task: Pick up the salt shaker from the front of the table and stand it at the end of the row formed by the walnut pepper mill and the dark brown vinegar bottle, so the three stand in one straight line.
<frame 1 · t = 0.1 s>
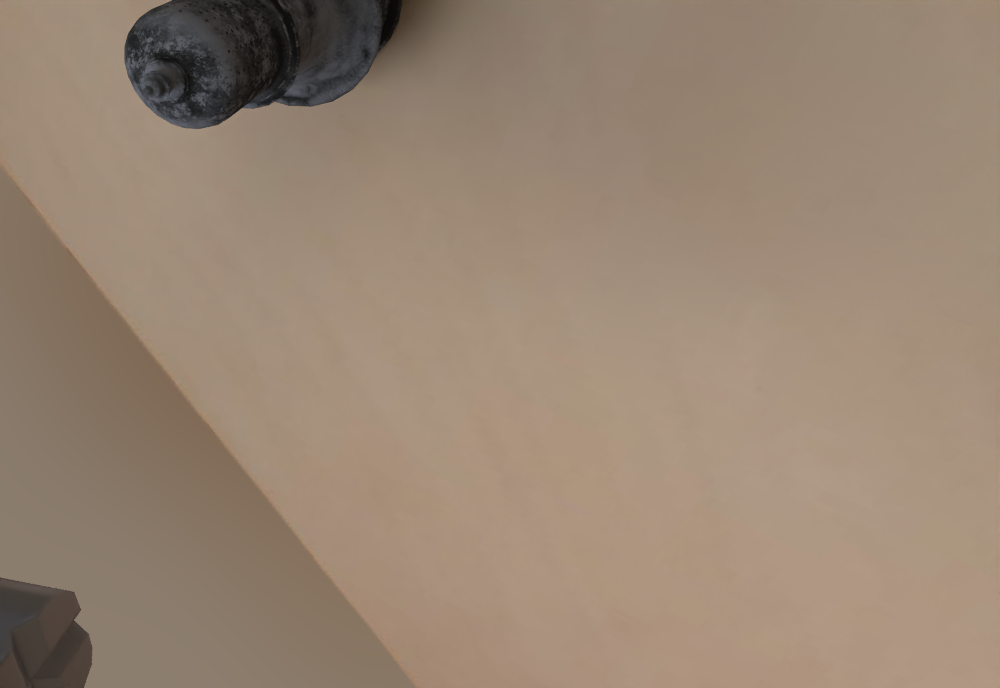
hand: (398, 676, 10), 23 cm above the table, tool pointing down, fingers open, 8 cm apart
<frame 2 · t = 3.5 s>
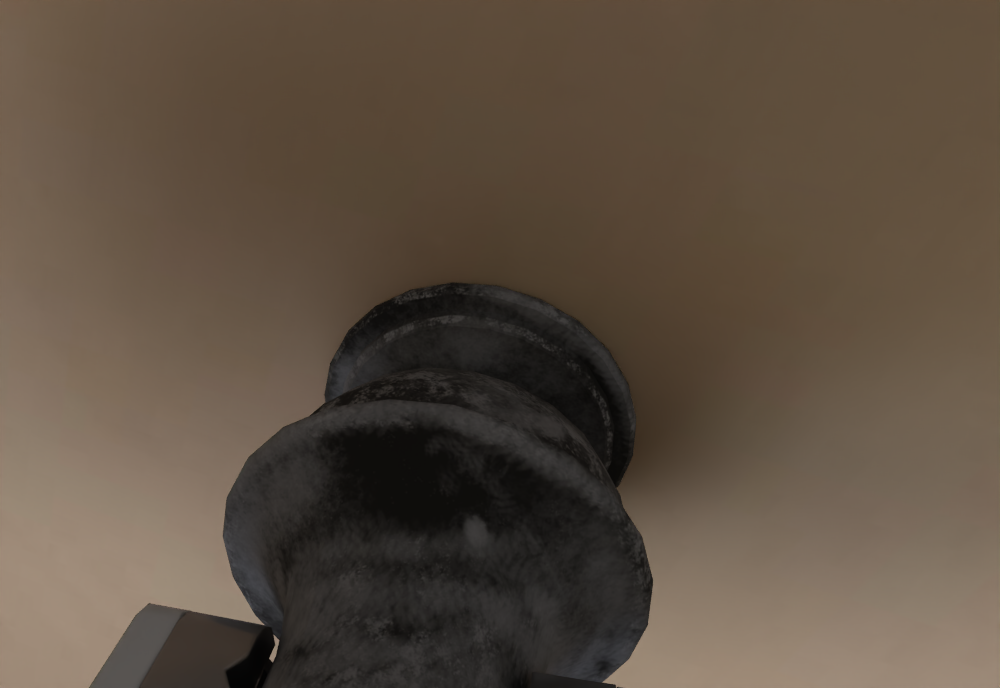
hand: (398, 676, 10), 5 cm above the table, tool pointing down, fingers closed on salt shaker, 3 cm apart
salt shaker: (480, 413, 15), on the table, touching gripper
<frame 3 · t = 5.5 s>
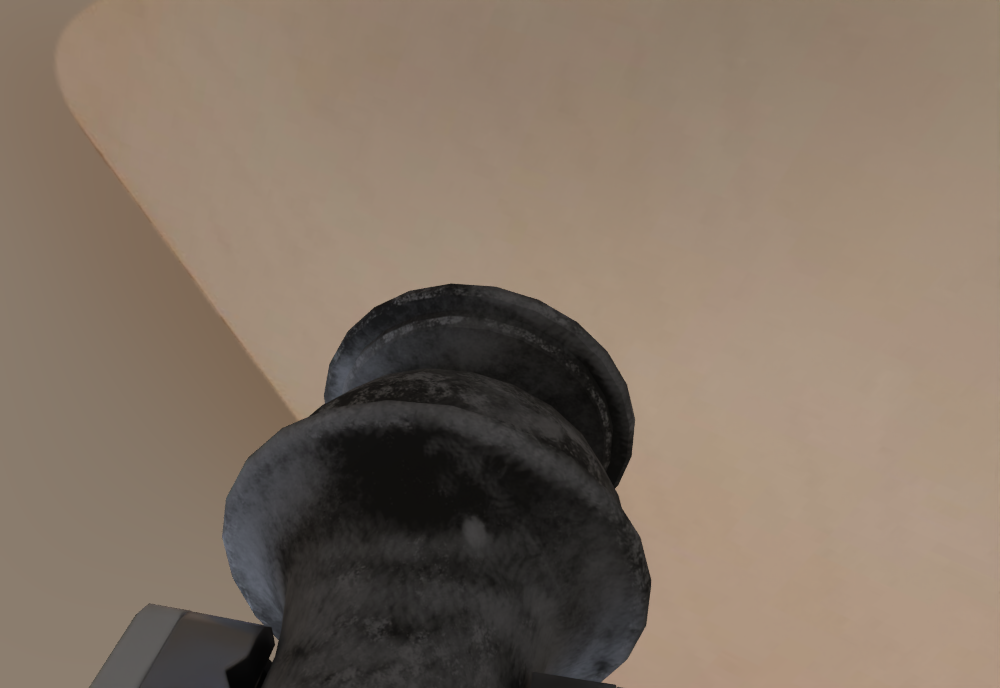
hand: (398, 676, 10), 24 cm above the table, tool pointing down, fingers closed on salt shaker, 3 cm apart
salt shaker: (479, 413, 15), point 19 cm above the table, touching gripper
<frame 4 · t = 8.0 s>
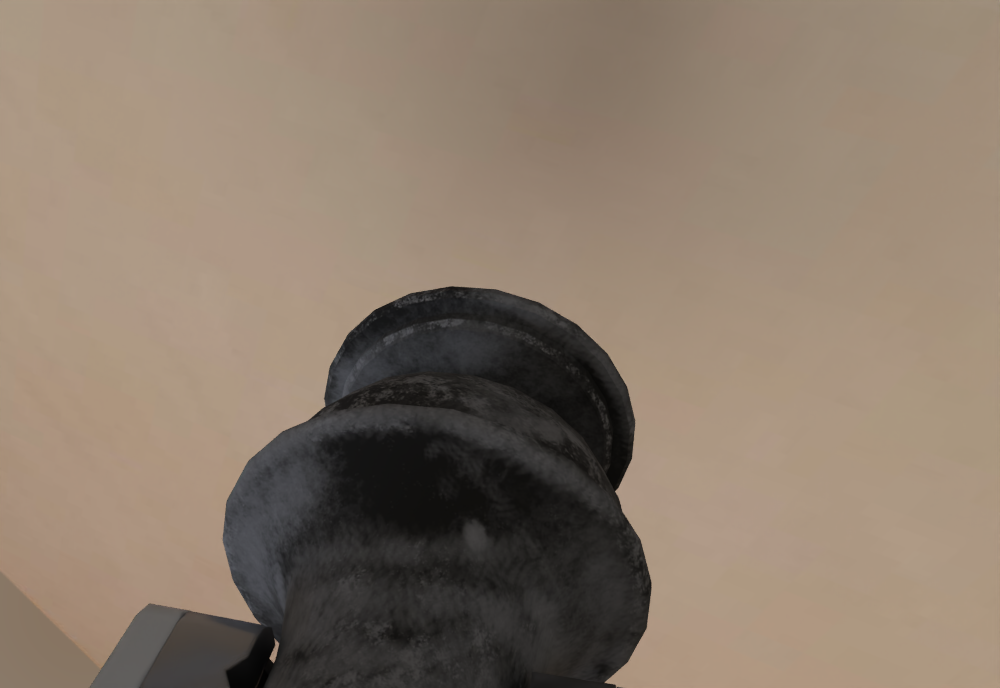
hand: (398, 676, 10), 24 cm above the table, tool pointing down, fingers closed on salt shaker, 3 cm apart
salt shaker: (479, 416, 15), point 19 cm above the table, touching gripper
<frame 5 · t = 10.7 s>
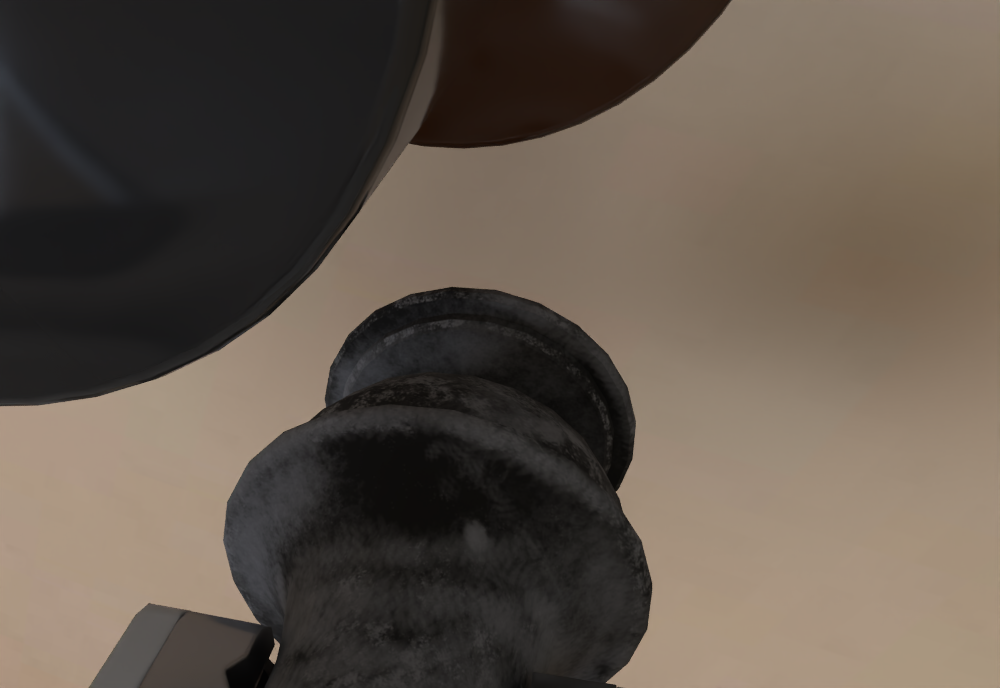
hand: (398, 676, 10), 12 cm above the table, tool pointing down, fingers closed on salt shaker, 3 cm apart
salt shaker: (480, 416, 15), point 6 cm above the table, touching gripper
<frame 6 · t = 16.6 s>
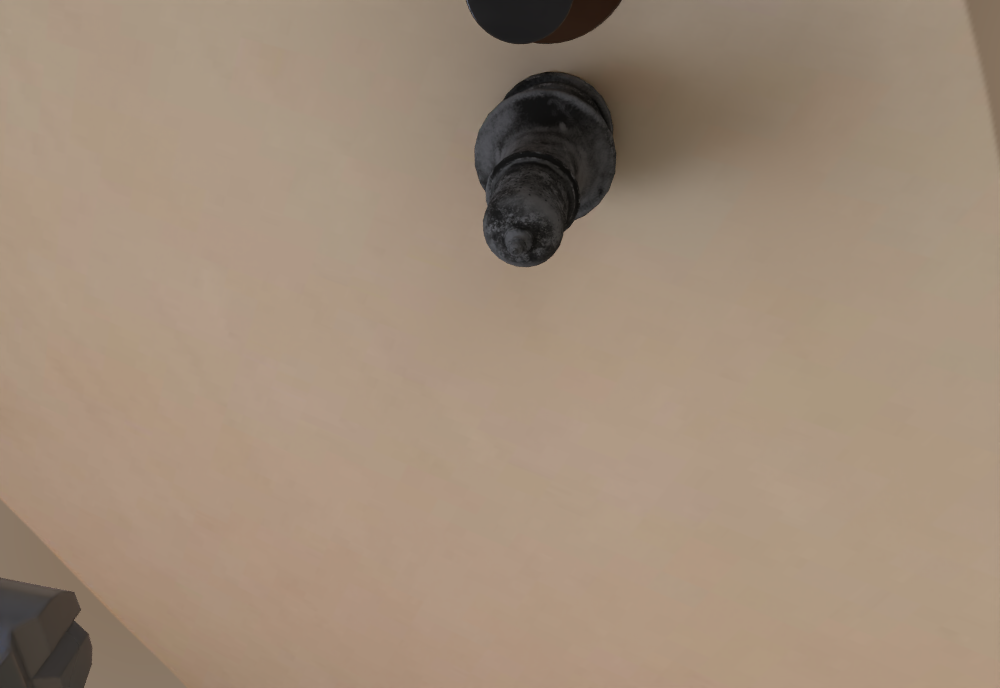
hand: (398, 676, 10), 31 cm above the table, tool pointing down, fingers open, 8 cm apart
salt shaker: (553, 130, 39), on the table
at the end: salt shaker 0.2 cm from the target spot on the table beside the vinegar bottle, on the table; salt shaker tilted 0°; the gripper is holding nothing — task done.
